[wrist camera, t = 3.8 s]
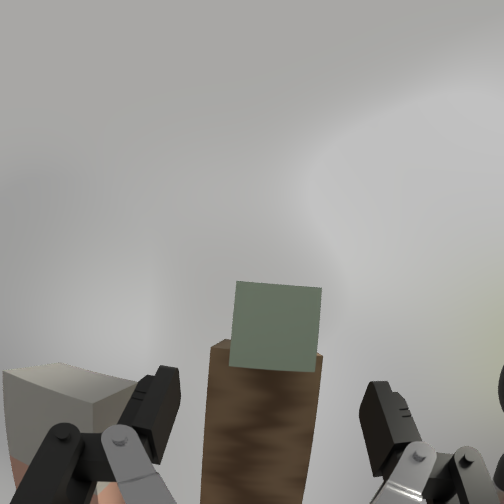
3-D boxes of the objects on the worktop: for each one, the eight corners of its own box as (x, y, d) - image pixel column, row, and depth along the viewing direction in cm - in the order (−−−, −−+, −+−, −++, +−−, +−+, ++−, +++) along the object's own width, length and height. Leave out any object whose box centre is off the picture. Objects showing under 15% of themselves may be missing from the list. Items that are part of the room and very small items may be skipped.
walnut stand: (270, 568, 25) (303, 345, 32) (272, 616, 15) (323, 355, 22) (208, 563, 25) (225, 339, 32) (197, 610, 16) (210, 347, 22)
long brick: (281, 341, 36) (284, 306, 36) (314, 372, 14) (321, 287, 15) (246, 338, 36) (249, 303, 37) (228, 366, 14) (236, 281, 15)
